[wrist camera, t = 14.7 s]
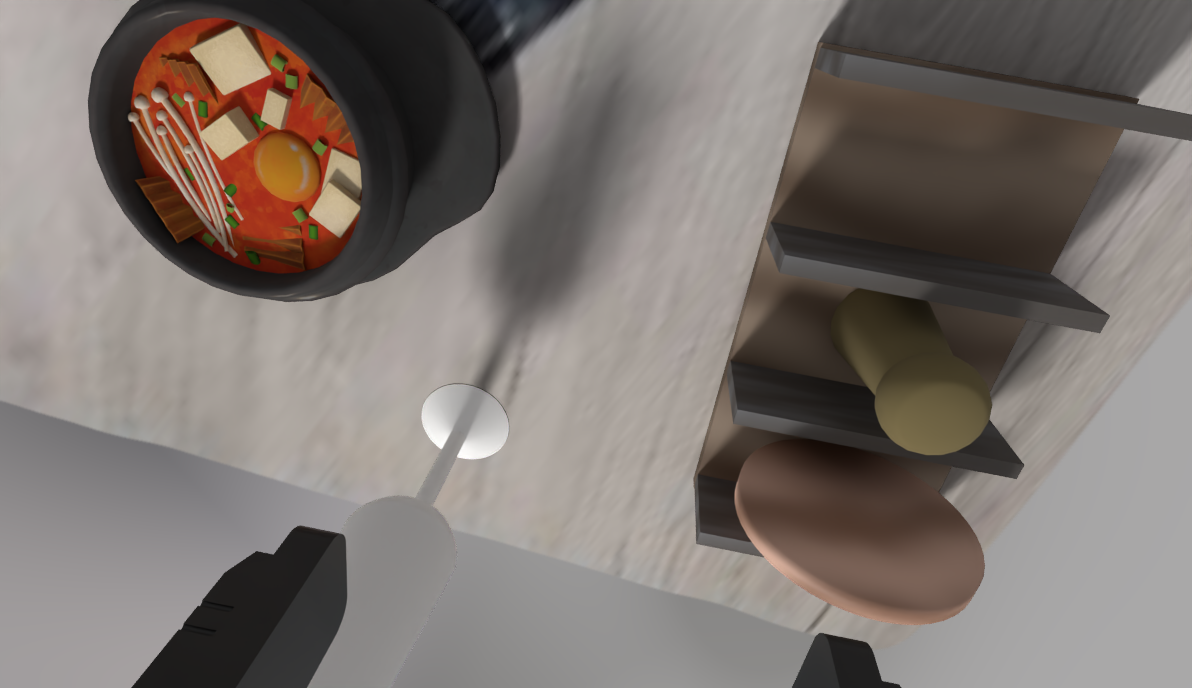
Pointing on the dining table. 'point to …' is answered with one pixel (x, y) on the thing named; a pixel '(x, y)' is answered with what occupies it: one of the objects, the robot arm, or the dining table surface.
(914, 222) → the rack
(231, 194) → the casserole
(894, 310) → the cork
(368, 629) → the champagne flute
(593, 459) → the dining table surface
